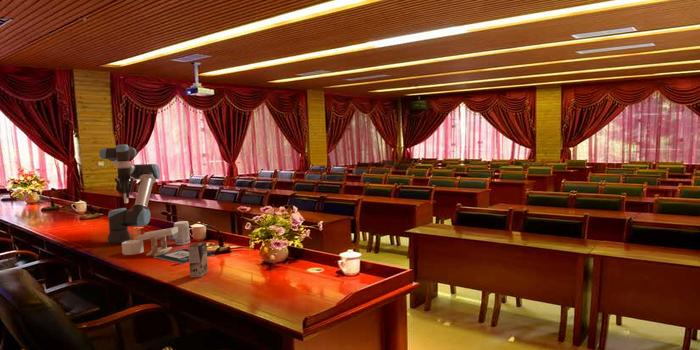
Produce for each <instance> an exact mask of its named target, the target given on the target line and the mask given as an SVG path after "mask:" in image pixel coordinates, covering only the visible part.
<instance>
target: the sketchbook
mask: <svg viewBox="0 0 700 350" xmlns="http://www.w3.org/2000/svg"><path fill="white" fill-rule="evenodd" d="M213 256H215V254H214V253H209V252H207V258H209V257H213ZM153 258H154V259H157V258H158V259H159V260H163V261H166V262H172V263H176V264H177V263H178V264H181V265H185V264H187V263H188V264H190V263H189V248H184V247H183V248H177V249H174V250H169V251H167V252H165V253H161V254H157V255H153Z"/></svg>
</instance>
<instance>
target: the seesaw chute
mask: <svg viewBox="0 0 700 350" xmlns="http://www.w3.org/2000/svg"><path fill="white" fill-rule="evenodd" d="M177 232H178V227H174V226H173V227H169V228H164V229H158V230H151V231H146V232H143V234H140V235H136V238H137V239H136V240H138V241H140V240H143V241H145V240H151V238H156V237H157V241H158V240H161V238H162V237H163V236H166V237H168V241H171V240H175V238H177V237H178V235H177Z"/></svg>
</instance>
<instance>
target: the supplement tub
mask: <svg viewBox="0 0 700 350" xmlns="http://www.w3.org/2000/svg"><path fill="white" fill-rule="evenodd" d="M189 225H190V224H189V221H187V220H181V221H176V222H174V223H173V228H174V227H178V232H177V235H178V237H177V238H175V239H174V243H175V245H177V246H184V245H188V244H190V243H191V237H190V226H189Z"/></svg>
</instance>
